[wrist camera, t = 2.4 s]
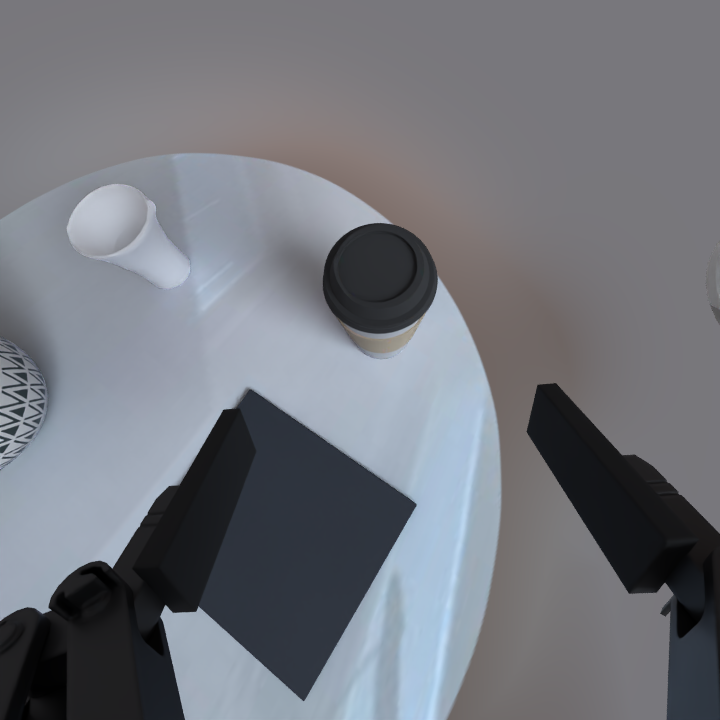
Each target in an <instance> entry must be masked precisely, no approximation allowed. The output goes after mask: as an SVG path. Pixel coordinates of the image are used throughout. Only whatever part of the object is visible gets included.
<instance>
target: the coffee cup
mask: <svg viewBox="0 0 720 720" xmlns="http://www.w3.org/2000/svg"><path fill="white" fill-rule="evenodd" d="M437 282H438V278H437V270H436V267H435V264H434V261H433V259H432V257H431V255H430V253H429V251H428V249H427V248H426V246H425V245H424V244H423V243H422V241H421V240H420V239H419V238H417V237H416V236H415V235H414V234H413V233H411V232H409V231H408V230H406V229H404V228H401V227H399V226H396V225H392V224H385V223H374V224H367V225H363V226H360V227H358V228H355V229H353V230H351V231H350V232H348V233H346V234H345V235H344V236H343V237H341V238H340V239H339V240H338V241H337V242H336V244H335V245H334V246H333V248H332V249H331V251H330V253H329V255H328V257H327V260H326V263H325V267H324V275H323V291H324V296H325V299H326V301H327V304H328V306H329V307H330V309H331V311H332V312H333V313H334V314H335V315H336V317H337V318H338V320H339V321H340V323H341V324H342V326H343V327H344V329H345V330H346V331H347V333H348V334H349V336H350V337H351V338H352V340H353V341H354V342H355V343H356V345H357V346H358V348H359V349H360V350H361V351H362V352H363V353H365V354H366V355H368V356H370V357H372V358H376V359H387V358H391V357H394V356H396V355H397V354H399V353H400V352H401V351H402V350H403V349H404V348H405V347H406V345H407V343H408V342H409V340H410V339H411V338H412V336H413V335H414V333H415V331H416V329H417V327H418V326H419V324H420V322H421V320H422V319H423V317H424V315H425V313H426V311H427V310H428V309H429V307H430V305H431V304H432V302H433V300H434V297H435V294H436V290H437Z"/></svg>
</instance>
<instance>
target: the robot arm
mask: <svg viewBox="0 0 720 720" xmlns="http://www.w3.org/2000/svg"><path fill="white" fill-rule="evenodd" d="M527 433H528V435H529V436H530V438H531V440H532V441H533V443H534V444H535V446H536V448H537V449H538V451H539V452H540V454H541V455H542V457H543V459H544V460H545V462H546V463H547V465H548V466H549V468H550V470H551V471H552V473H553V474H554V476H555V477H556V479H557V481H558V482H559V484H560V485H561V487H562V488H563V490H564V492H565V493H566V495H567V496H568V498H569V499H570V501H571V502H572V504H573V506H574V507H575V509H576V511H577V512H578V514H579V515H580V517H581V518H582V520H583V522H584V523H585V525H586V526H587V528H588V530H589V531H590V533H591V534H592V536H593V537H594V539H595V541H596V542H597V544H598V545H599V547H600V548H601V550H602V552H603V553H604V555H605V556H606V558H607V559H608V561H609V562H610V564H611V566H612V567H613V569H614V570H615V572H616V574H617V575H618V577H619V578H620V580H621V582H622V583H623V585H624V586H625V588H626V590H627V591H628V593H629V594H631V593H632V594H633V593H656V592H657V591H658V590H659V589H660V588H661V586H662V585H663V584H664V583H666V584H667V585H668V587H669V588H670V589H671V591H672V592H673V594H674V595H673V596H672V597H671V599H670V600H669V601H668V602H667V603H666V604H665V605H664V607H663V608H662V611H661V613H660V614H662V615H664V616H666V615H667V614H668V613H669V612H670V611H671V614H670V642H669V670H668V699H667V720H720V534H719V533H718V532H717V531H716V530H715V529H714V527H713V526H711V524H710V523H708V521H707V520H706V519H705V518H704V517H703V516H702V515H701V514H700V513H699V512H698V511H697V510H696V509H695V508H694V507H693V506H692V505H691V504H690V503H689V502H688V501H687V500H686V499H685V498H684V497H683V496H682V495H679V494H678V491H677V490H676V489H675V488H674V487H673V486H672V485H671V484H670V483H667V480H666V479H665V478H664V477H663V476H662V475H661V474H660V473H659V472H658V471H657V470H656V469H655V468H654V467H653V466H652V465H650V464H649V463H647V462H646V461H644V460H642V459H641V458H639V457H637V456H636V455H621V454H620V453H619V451H618V450H617V449H616V448H615V447H614V446H613V445H612V444H611V443H610V442H609V441H608V440H607V439H606V437H605V436H604V435H603V434H602V433H601V432H600V431H599V430H598V429H597V428H596V426H595V425H594V424H593V423H592V422H591V421H590V420H589V419H588V418H587V417H586V416H585V414H584V413H583V412H582V411H581V410H580V409H579V408H578V407H577V406H576V405H575V404H574V402H573V401H572V400H571V399H570V398H569V397H568V396H567V395H566V394H565V393H564V392H563V390H561V388H560V387H559V386H558V385H557V384H556V383H554V384H542V385H538V386H537V389H536V394H535V398H534V403H533V407H532V411H531V415H530V420H529V424H528V428H527ZM255 454H256V448H255V446H254V443H253V441H252V438H251V435H250V433H249V430H248V428H247V425H246V422H245V420H244V417H243V415H242V412H241V410H240V408H239V409H226V410H223V412H222V413H221V415H220V417H219V419H218V420H217V422H216V424H215V425H214V427H213V429H212V431H211V432H210V434H209V436H208V438H207V439H206V441H205V443H204V444H203V446H202V448H201V450H200V451H199V453H198V455H197V457H196V458H195V460H194V462H193V463H192V465H191V467H190V469H189V470H188V472H187V474H186V476H185V477H184V479H183V481H182V482H181V484H180V485H178V486H169V487H168V488H167V489H166V490H165V491H164V492H163V493H162V494H161V495H160V496H159V497H158V498H157V499H156V500H155V502H154V503H153V505H152V506H151V508H150V510H149V511H148V515H147V516H145V518H144V519H143V521H142V522H141V524H140V527H138V529H137V530H136V532H135V534H134V535H133V537H132V538H131V540H130V542H129V543H128V545H127V546H126V548H125V550H124V551H123V553H122V554H121V556H120V558H119V559H118V561H117V562H116V564H115V565H114V567H113V569H112V568H111V567H110V566H109V565H108V564H107V563H105V562H102V561H95V562H90V563H88V564H86V565H84V566H82V567H80V568H78V569H77V570H75V571H74V572H73V573H71V574H70V575H69V576H68V577H67V578H66V579H65V580H64V581H63V582H62V583H61V584H60V585H59V586H58V587H57V589H56V591H55V592H54V594H53V595H52V597H51V600H50V603H49V607H48V608H50V609H51V610H52V611H49V612H47V613H44V614H42V613H41V612H39V611H38V610H36V609H35V608H28V607H27V608H24V609H21V610H17V611H15V612H14V613H12V614H10V615H9V616H7V617H5V618H4V619H2V620H1V621H0V720H185V718H184V713H183V709H182V705H181V700H180V696H179V691H178V687H177V682H176V678H175V673H174V669H173V664H172V660H171V655H170V651H169V646H168V642H167V638H166V633H165V629H164V624H163V621H162V619H161V618H160V615H161V613H162V611H163V609H164V607H165V605H166V606H167V607H168V608H169V609H170V610H171V611H172V612H173V613H178V612H196V611H197V609H198V606H199V603H200V601H201V598H202V595H203V593H204V590H205V587H206V585H207V582H208V579H209V577H210V574H211V571H212V569H213V566H214V563H215V561H216V558H217V555H218V553H219V550H220V547H221V545H222V542H223V539H224V537H225V534H226V531H227V529H228V526H229V523H230V521H231V518H232V515H233V513H234V510H235V507H236V505H237V502H238V499H239V497H240V494H241V491H242V489H243V486H244V483H245V481H246V478H247V475H248V473H249V470H250V467H251V465H252V462H253V459H254V457H255Z"/></svg>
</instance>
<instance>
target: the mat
mask: <svg viewBox="0 0 720 720" xmlns="http://www.w3.org/2000/svg"><path fill="white" fill-rule="evenodd" d="M239 408H240V410H241V412H242V415H243V417H244V420H245V422H246V425H247V428H248V430H249V433H250V435H251V438H252V441H253V443H254V446H255V448H256V454H255V457H254V459H253V462H252V465H251V467H250V470H249V473H248V475H247V478H246V481H245V483H244V486H243V489H242V491H241V494H240V497H239V499H238V502H237V505H236V507H235V510H234V513H233V515H232V518H231V521H230V523H229V526H228V529H227V531H226V534H225V537H224V539H223V542H222V545H221V547H220V550H219V553H218V555H217V558H216V561H215V563H214V566H213V569H212V571H211V574H210V577H209V579H208V582H207V585H206V587H205V590H204V593H203V595H202V598H201V601H200V603H199V607H200V608H201V609H202V610H203V611H205V612H206V613H207V614H208V615H209V616H210V617H211V618H212V619H213V620H214V621H216V622H217V623H218V624H219V625H220V626H221V627H222V628H223V629H224V630H226V631H227V632H228V633H229V634H230V635H231V636H232V637H233V638H234V639H235V640H237V641H238V642H239V643H240V644H241V645H242V646H243V647H244V648H245V649H247V650H248V651H249V652H250V653H251V654H252V655H253V656H254V657H255V658H256V659H258V660H259V661H260V662H261V663H262V664H263V665H264V666H265V667H266V668H267V669H269V670H270V671H271V672H272V673H273V674H274V675H275V676H276V677H277V678H279V679H280V680H281V681H282V682H283V683H284V684H285V685H286V686H287V687H288V688H290V689H291V690H292V691H293V692H294V693H295V694H296V695H297V696H298V697H300V698H301V699H302V700H303V701H304V700H305V699H306V697H307V695H308V693H309V692H310V690H311V688H312V686H313V685H314V683H315V681H316V680H317V678H318V676H319V674H320V673H321V671H322V669H323V667H324V666H325V664H326V662H327V660H328V659H329V657H330V655H331V653H332V652H333V650H334V648H335V646H336V645H337V643H338V641H339V639H340V638H341V636H342V634H343V632H344V631H345V629H346V627H347V626H348V624H349V622H350V620H351V619H352V617H353V615H354V613H355V612H356V610H357V608H358V606H359V605H360V603H361V601H362V599H363V598H364V596H365V594H366V592H367V591H368V589H369V587H370V585H371V584H372V582H373V580H374V578H375V577H376V575H377V573H378V572H379V570H380V568H381V566H382V565H383V563H384V561H385V559H386V558H387V556H388V554H389V552H390V551H391V549H392V547H393V545H394V544H395V542H396V540H397V538H398V537H399V535H400V533H401V531H402V530H403V528H404V526H405V524H406V523H407V521H408V519H409V518H410V516H411V514H412V512H413V511H414V509H415V507H416V503H414V502H413V501H411V500H410V499H408V498H407V497H405V496H404V495H403V494H401V493H400V492H398V491H397V490H395V489H394V488H392V487H391V486H390V485H388V484H387V483H385V482H384V481H382V480H381V479H379V478H378V477H377V476H375V475H374V474H372V473H371V472H369V471H368V470H366V469H365V468H364V467H362V466H361V465H359V464H358V463H356V462H355V461H353V460H352V459H351V458H349V457H348V456H346V455H345V454H343V453H342V452H340V451H339V450H338V449H336V448H335V447H333V446H332V445H330V444H329V443H327V442H326V441H325V440H323V439H322V438H320V437H319V436H317V435H316V434H314V433H313V432H312V431H310V430H309V429H307V428H306V427H304V426H303V425H301V424H300V423H299V422H297V421H296V420H294V419H293V418H291V417H290V416H288V415H287V414H286V413H284V412H283V411H281V410H280V409H278V408H277V407H275V406H274V405H273V404H271V403H270V402H268V401H267V400H265V399H264V398H263V397H261V396H260V395H258V394H257V393H255V392H254V391H252V390H249V392H248V393H247V394H246V396H245V397H244V399H243V400H242V401H241V403H240V404H239V406H238V407H237V408H236V409H239Z"/></svg>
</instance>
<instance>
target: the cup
mask: <svg viewBox="0 0 720 720" xmlns="http://www.w3.org/2000/svg"><path fill="white" fill-rule="evenodd" d="M66 230H67V233H68V236H69V240H70V243H71V245H72V246H73V248H74V249H75V250H76V251H77V252H78V253H80V254H82V255H83V256H85V257H87V258H91V259H95V260H101V261H106V262H110V263H112V264H115V265H117V266H119V267H121V268H124V269H127V270H130V271H132V272H134V273H136V274H138V275H140V276H142V277H144V278H145V279H147V280H148V281H149V282H151V283H152V284H153V285H155V286H157V287H158V288H160V289H172V288H176V287H178V286H180V285H181V284H183V283H184V282H185V281H186V279H187V278H188V276H189V274H190V271H191V266H190V260H189V258H188V257H187V256H186V255H185V254H184V253H183V252H182V251H181V250H180V249H179V248H178V247H177V246H176V245H175V244H174V243H173V242H172V241H171V240H170V239H169V238H168V237H167V235H166V234H165V232H164V231H163V229H162V227H161V225H160V224H159V223H158V221H157V219H156V205H155V204H154V203H153V202H152V200H149V199H148V198H147V197H146V195H145V194H144V193H142V192H141V191H140V190H138V189H137V188H135V187H132V186H129V185H125V184H110V185H105V186H102V187H100V188H97V189H95V190H94V191H92V192H90V193H89V194H88V195H86V196H85V197H84V198H83V199H82V200H81V201H80V202H79V203H78V204H77V206H76V207H75V208H74V210H73V212H72V214H71V215H70V218H69V221H68V224H67V227H66Z"/></svg>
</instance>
